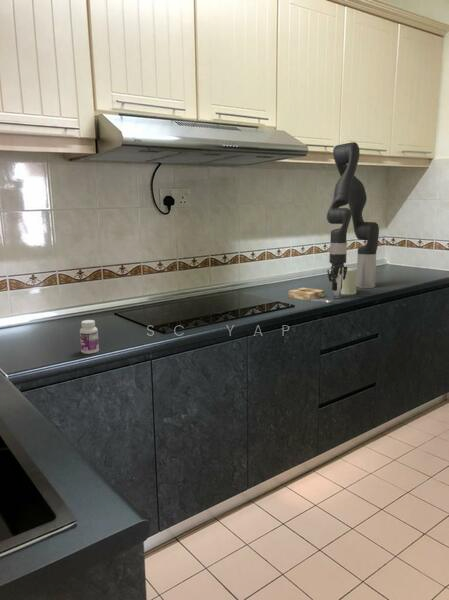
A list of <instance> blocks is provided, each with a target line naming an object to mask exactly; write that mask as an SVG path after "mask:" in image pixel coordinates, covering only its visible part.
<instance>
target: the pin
mask: <svg viewBox="0 0 449 600" xmlns="http://www.w3.org/2000/svg"><path fill="white" fill-rule="evenodd" d="M341 275H342V274H339V278H338V280H337V291H333V290H332V298H333V299H341V298H342V294H341ZM334 276H336V275H334Z"/></svg>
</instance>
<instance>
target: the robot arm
mask: <svg viewBox="0 0 449 600" xmlns="http://www.w3.org/2000/svg"><path fill="white" fill-rule="evenodd" d="M360 152H361V151H360V147H359V144H358V143H357V142H355V141H352V142H347V143H341V144H337V145H335V146H334V147H333V150H332V154H333V155H332V156H333V160H334V163H335V166H336V168H337V171H338V173H339V175H340V176H339V179H338V180H337V181H336V184H335V187H334V190H333V191H334V193H333V197H332V198H333V199H332V203H331V205H330V206H329V209H328V210H327V214H326V220H327V222H328V223H329V224H330V225H341V226H340V227H339V228H336V229H332V230H331V231H330V244H329V245H330V246H329V263H330V264H331V266H330V268H329V269H327V271H326V272H327V277H328V281H329V282H331V290H332V292H333V291H337V280H338V278H339V274H342V275H341V289H342V281H343V279H345V277H346V273H347V268H348V267H347V266H345V264H347V255H348V254H347V251H348V250H347V249H348V246H347V233H348V228H349V225H350V222H351V221H352V224H353V231H354V235H355V237H356V238H357V240H360V241H366V244H365V245H363V246H360V247H358V248H357V255H356V257H357V260H356V262H357V265H356V269H357V285H356V288H360V289H372V288H375V287H376V279H377V278H376V277H377V276H376V274H377V265H376V264H377V250H378V247H379V237H380V236H379V235H380V226H379V224H378V223H377V222H375V221H365V220H364V218H363V217H364V216H363V210H364V208H365V206H366V203H367V192H366V190H365V186H364V183H363V182H362V181H361V180H360V179H359V178H358V177H357V176H355V173H356V171H357V170H356V169H357V166H358V164H359V160H360ZM346 205H348V207H349V208H348V207H344V206H346ZM351 219H352V220H351ZM334 275H336V276H334Z"/></svg>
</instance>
